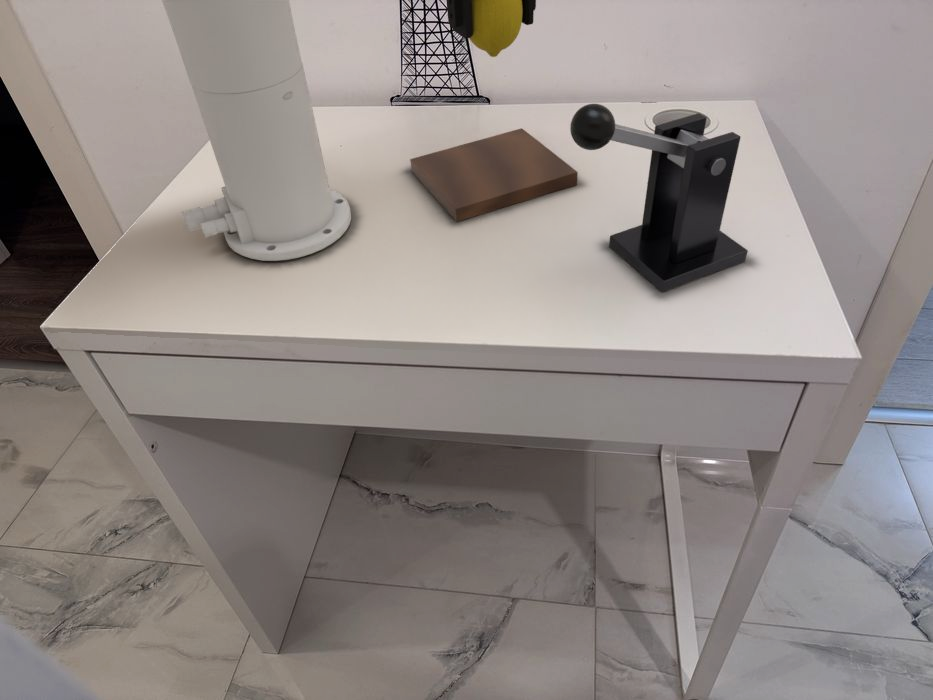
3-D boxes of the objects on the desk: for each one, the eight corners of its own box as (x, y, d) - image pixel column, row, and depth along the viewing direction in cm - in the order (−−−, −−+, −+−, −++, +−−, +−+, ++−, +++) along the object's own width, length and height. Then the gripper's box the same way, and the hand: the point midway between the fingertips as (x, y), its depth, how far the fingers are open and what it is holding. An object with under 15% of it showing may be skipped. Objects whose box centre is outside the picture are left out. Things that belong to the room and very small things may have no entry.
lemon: (523, 66, 64) (524, -29, 59) (464, 68, 64) (459, -26, 59) (521, 45, 68) (521, -46, 63) (465, 47, 69) (460, -43, 63)
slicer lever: (578, 153, 49) (597, 109, 47) (555, 135, 51) (573, 93, 49) (708, 181, 56) (728, 143, 55) (682, 164, 58) (701, 128, 57)
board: (456, 222, 69) (455, 209, 68) (411, 171, 77) (409, 158, 76) (577, 184, 73) (577, 171, 71) (522, 140, 81) (521, 128, 80)
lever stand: (662, 292, 59) (683, 166, 51) (608, 246, 64) (620, 125, 56) (745, 261, 61) (778, 136, 53) (687, 219, 67) (709, 99, 59)
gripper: (399, -210, 47) (424, 59, 60) (610, -232, 52) (592, 20, 64) (363, -215, 52) (393, 34, 65) (558, -234, 57) (551, 0, 70)
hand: (492, 25), depth 64 cm, fingers closed on lemon, 5 cm apart
